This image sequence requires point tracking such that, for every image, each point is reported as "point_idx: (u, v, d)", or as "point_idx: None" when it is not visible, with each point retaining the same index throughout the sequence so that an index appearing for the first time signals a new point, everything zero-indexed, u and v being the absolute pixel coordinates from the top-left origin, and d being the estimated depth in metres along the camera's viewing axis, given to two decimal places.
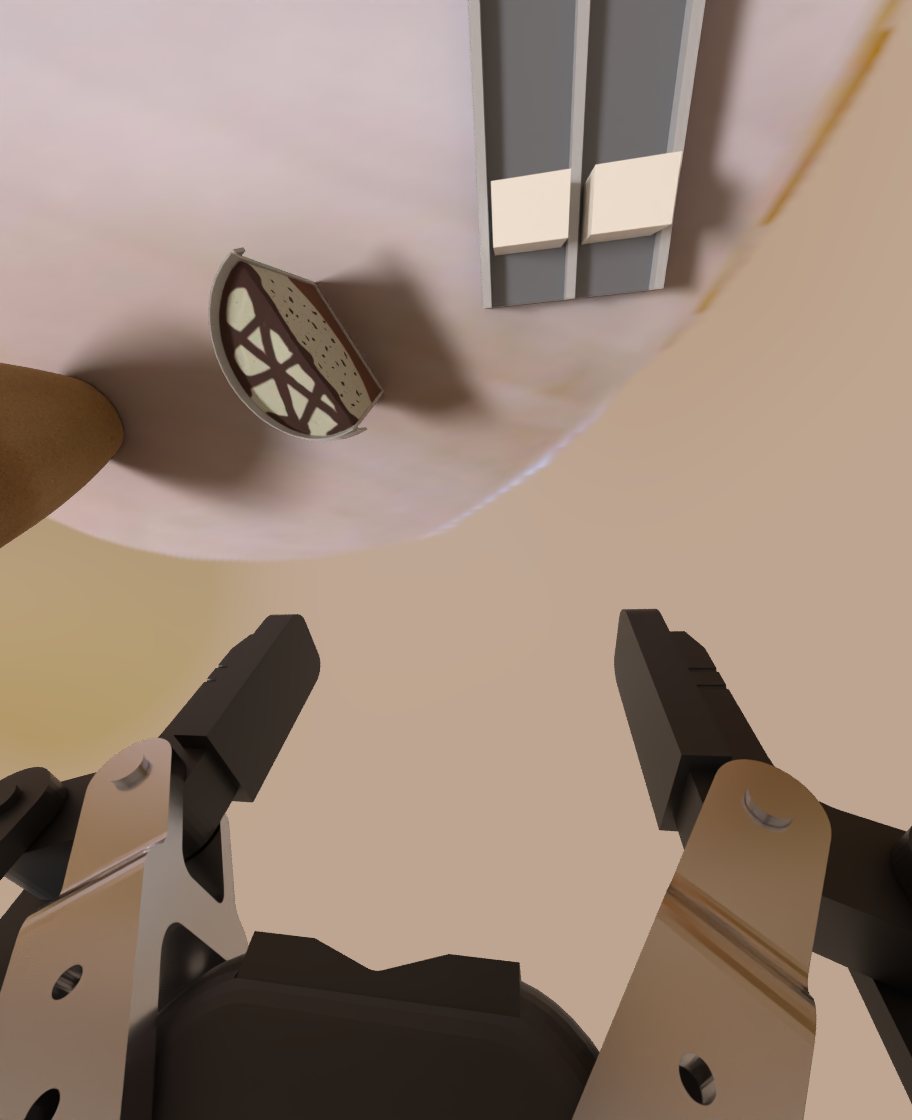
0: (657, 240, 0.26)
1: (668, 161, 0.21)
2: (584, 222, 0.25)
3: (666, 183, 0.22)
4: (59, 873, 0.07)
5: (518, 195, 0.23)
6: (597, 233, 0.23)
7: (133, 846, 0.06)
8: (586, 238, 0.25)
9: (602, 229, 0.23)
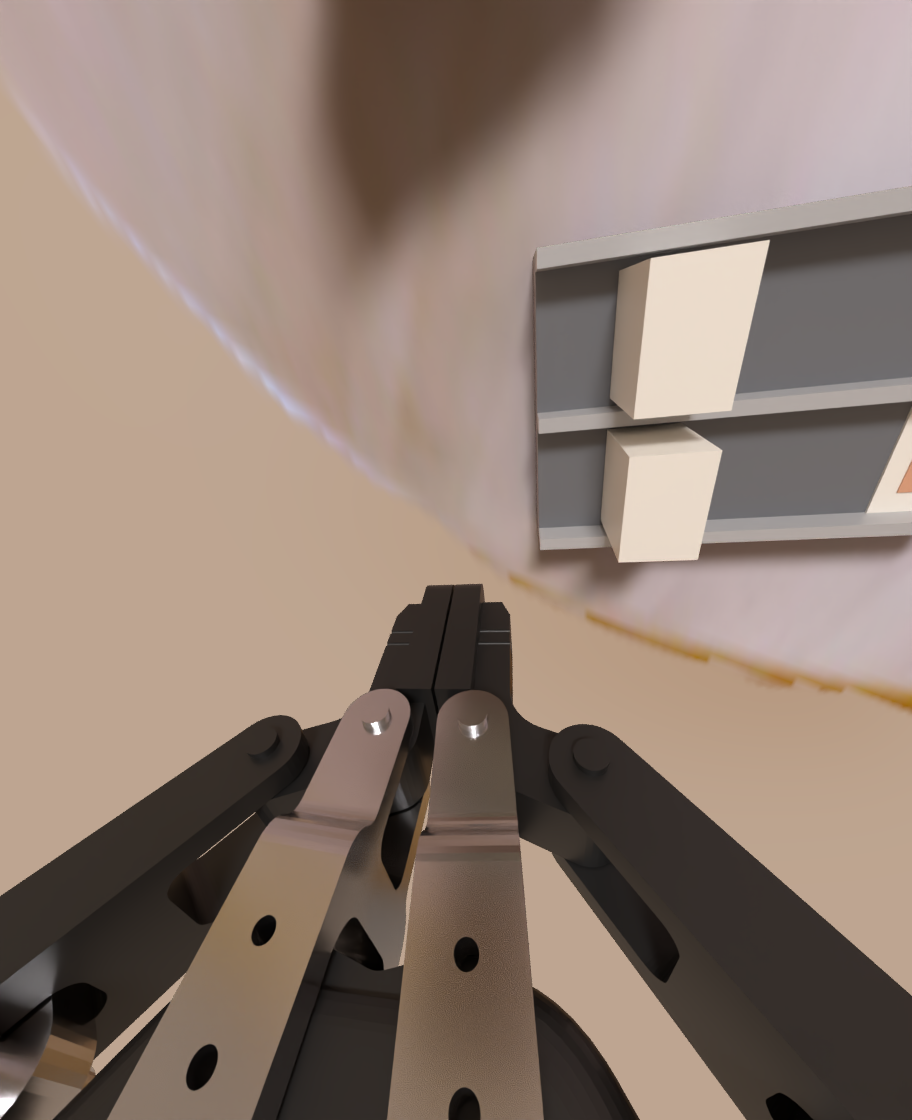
0: (594, 530, 0.20)
1: (691, 546, 0.16)
2: (637, 433, 0.16)
3: (667, 549, 0.16)
4: None
5: (725, 310, 0.12)
6: (628, 466, 0.14)
7: (352, 803, 0.06)
8: (620, 444, 0.15)
9: (633, 474, 0.14)
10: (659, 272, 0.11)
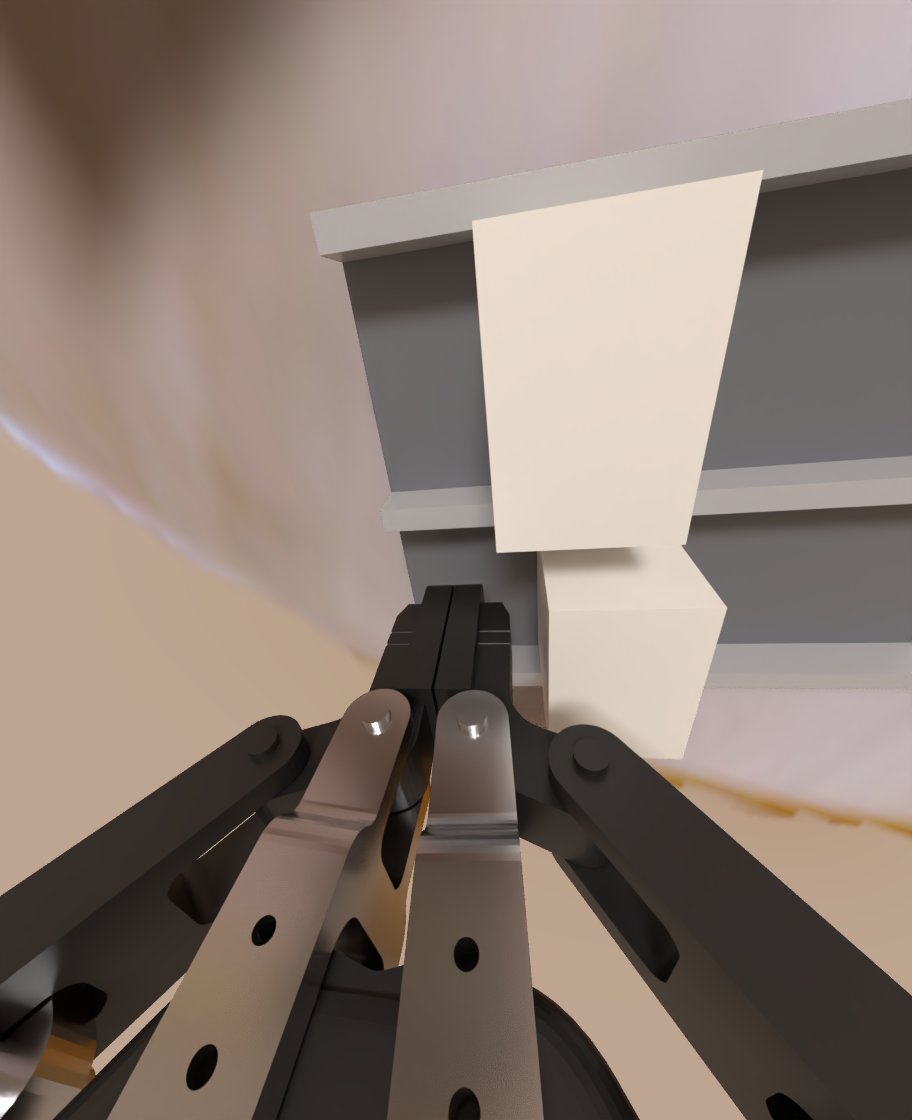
0: None
1: (671, 742, 0.09)
2: None
3: (629, 742, 0.09)
4: None
5: (660, 347, 0.05)
6: (550, 623, 0.08)
7: (352, 803, 0.06)
8: (544, 563, 0.09)
9: (558, 637, 0.08)
10: (498, 257, 0.05)
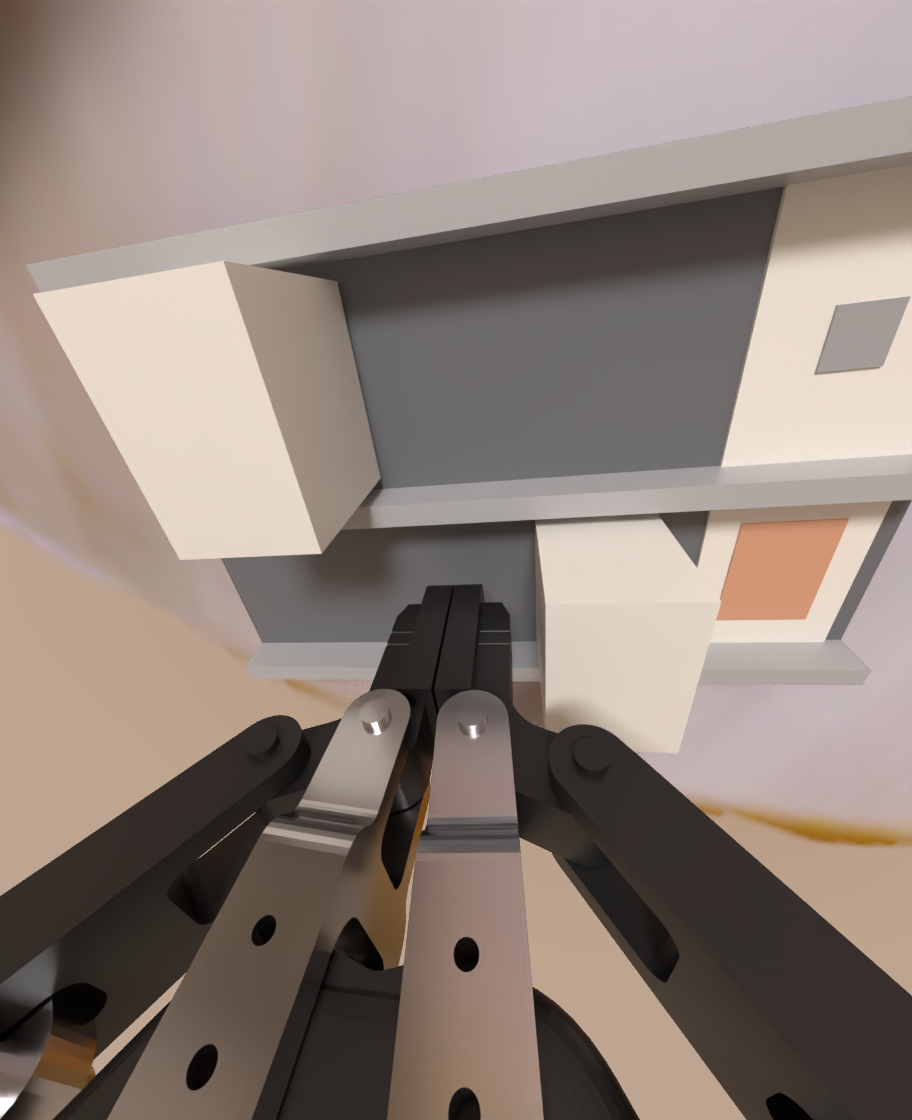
0: (322, 653, 0.14)
1: (666, 735, 0.09)
2: (577, 529, 0.10)
3: (624, 736, 0.09)
4: None
5: (219, 392, 0.06)
6: (546, 617, 0.08)
7: (352, 803, 0.06)
8: (541, 558, 0.09)
9: (555, 630, 0.08)
10: (65, 321, 0.06)
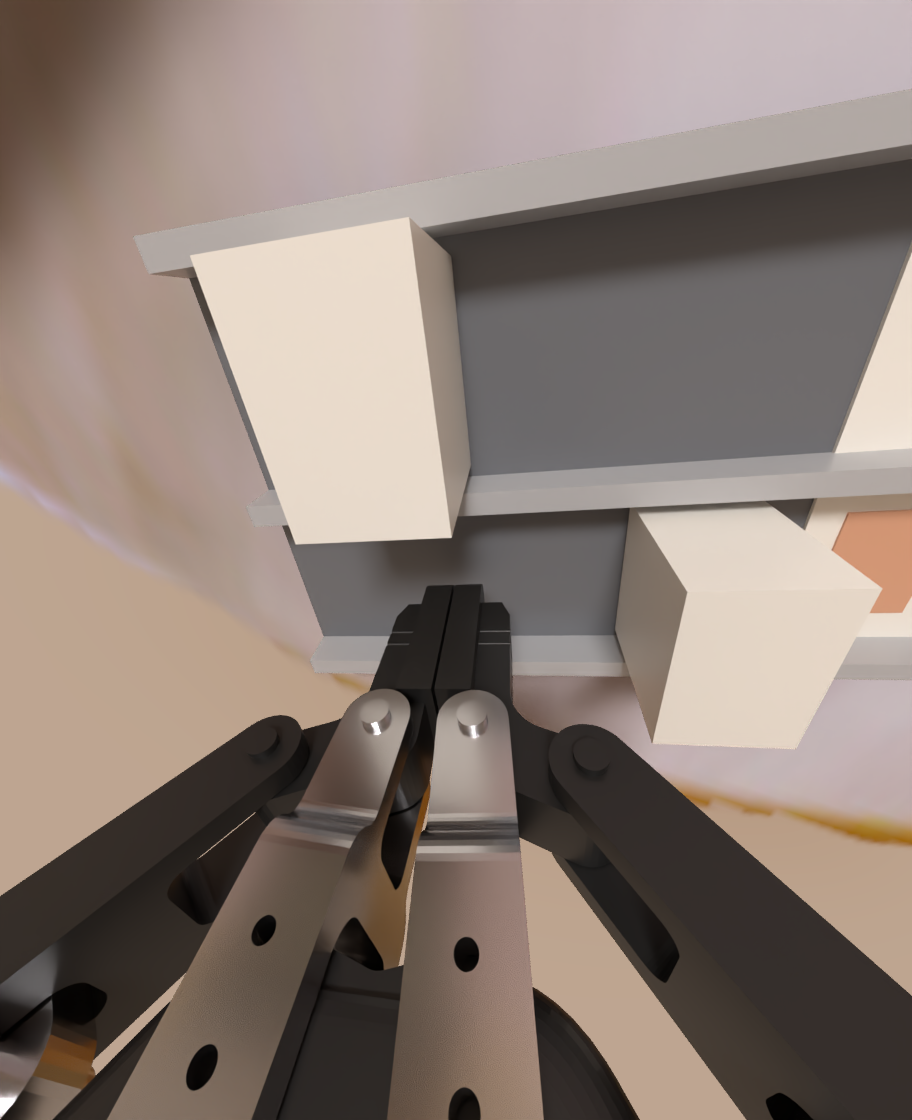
0: None
1: (787, 730, 0.09)
2: (686, 517, 0.09)
3: (742, 731, 0.09)
4: None
5: (375, 363, 0.06)
6: (683, 605, 0.07)
7: (352, 803, 0.06)
8: (660, 546, 0.08)
9: (691, 619, 0.07)
10: (220, 286, 0.05)
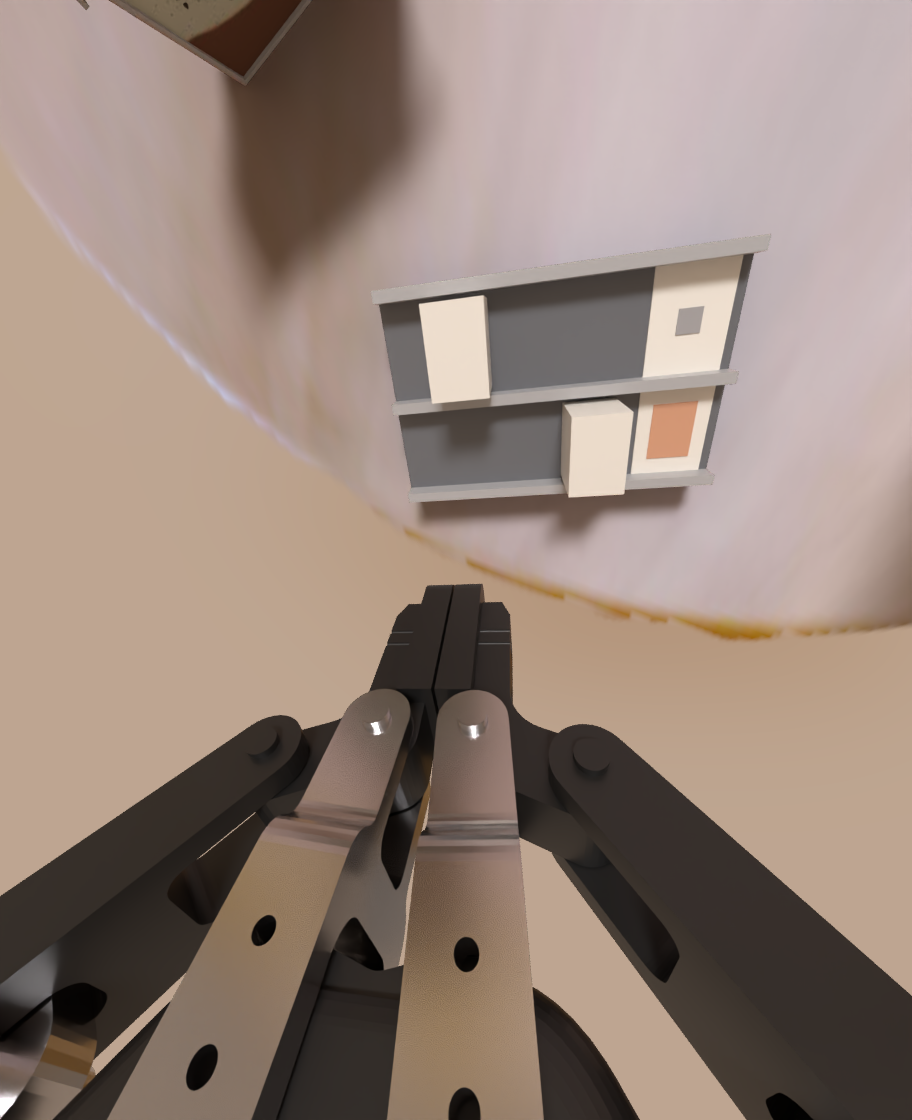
0: (447, 488, 0.27)
1: (618, 484, 0.22)
2: (582, 404, 0.23)
3: (602, 486, 0.22)
4: None
5: (469, 335, 0.19)
6: (571, 424, 0.21)
7: (352, 803, 0.06)
8: (568, 410, 0.22)
9: (574, 429, 0.21)
10: (425, 312, 0.19)
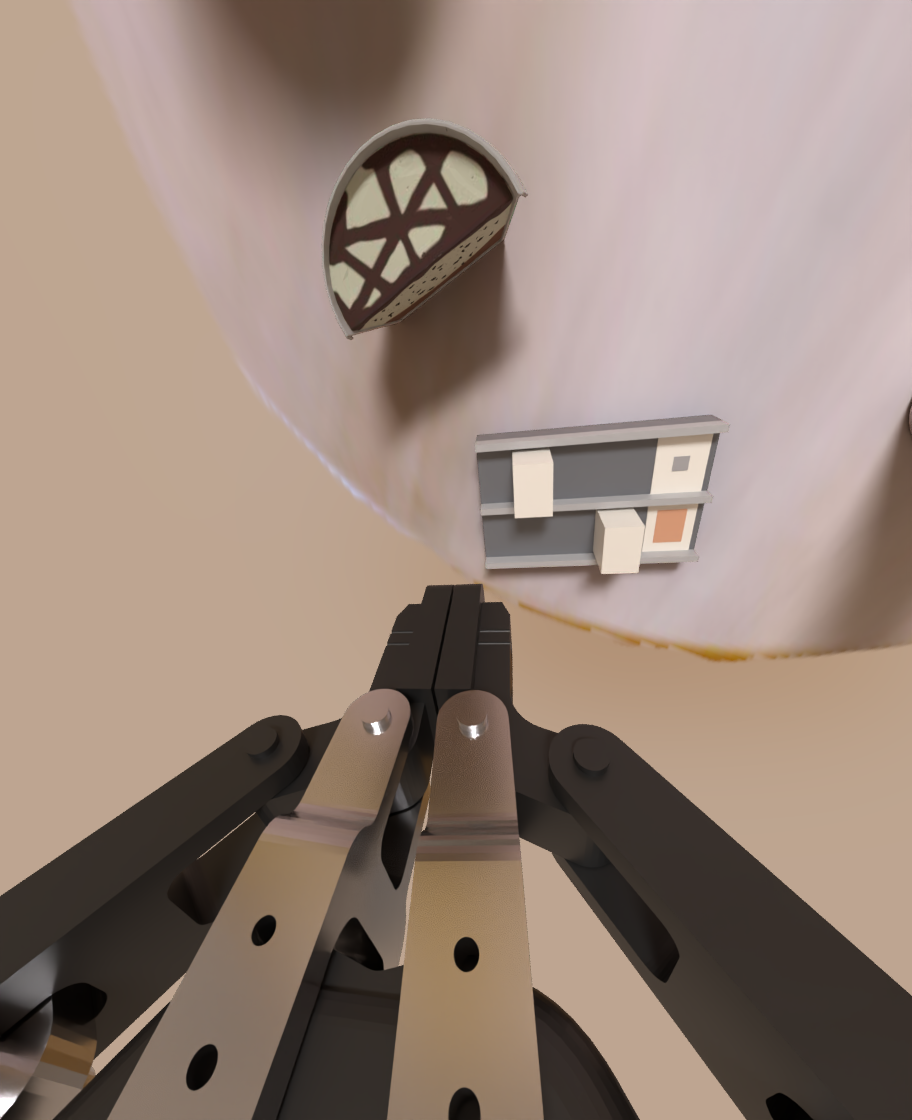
0: (513, 559, 0.38)
1: (634, 566, 0.33)
2: (610, 512, 0.34)
3: (623, 567, 0.33)
4: None
5: (542, 482, 0.30)
6: (604, 531, 0.32)
7: (352, 803, 0.06)
8: (601, 519, 0.33)
9: (606, 535, 0.32)
10: (516, 469, 0.30)
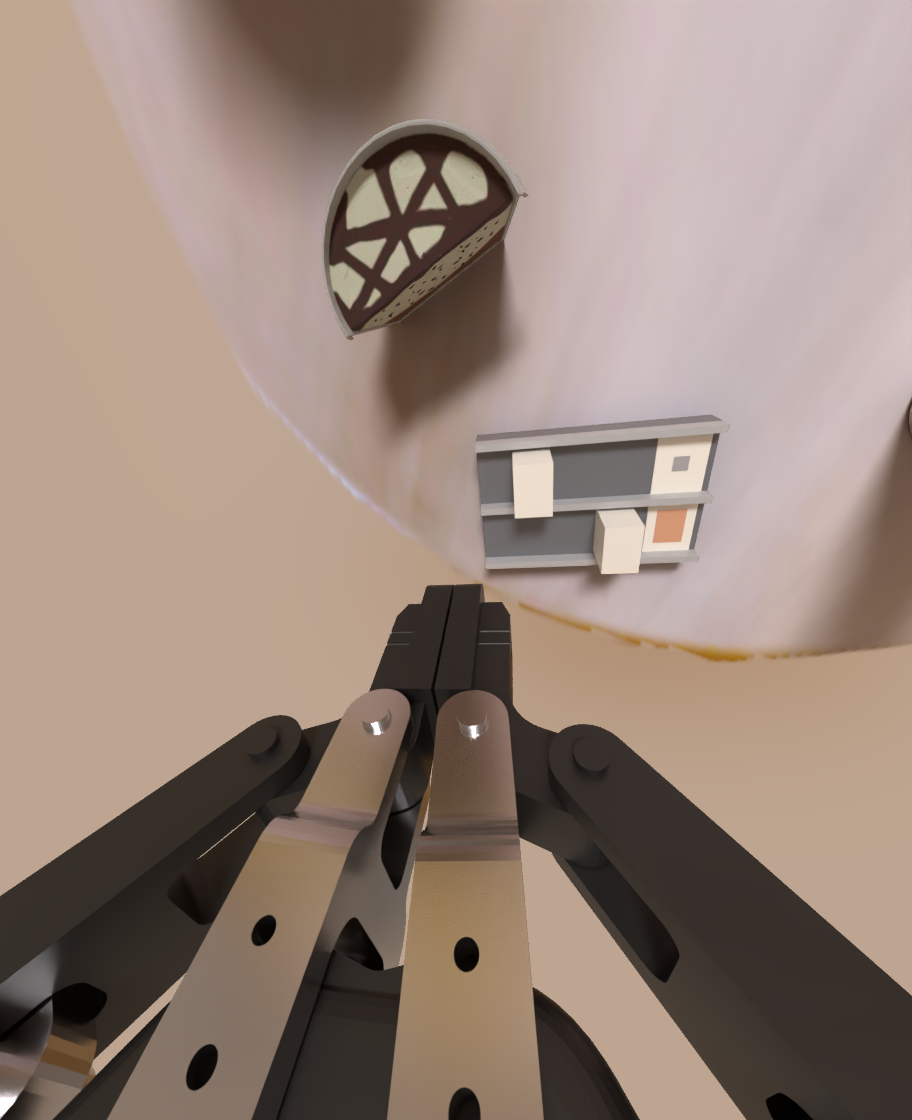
0: (513, 559, 0.38)
1: (635, 566, 0.33)
2: (610, 512, 0.34)
3: (623, 567, 0.33)
4: None
5: (542, 482, 0.30)
6: (604, 531, 0.32)
7: (352, 803, 0.06)
8: (601, 519, 0.33)
9: (606, 535, 0.32)
10: (516, 470, 0.30)
